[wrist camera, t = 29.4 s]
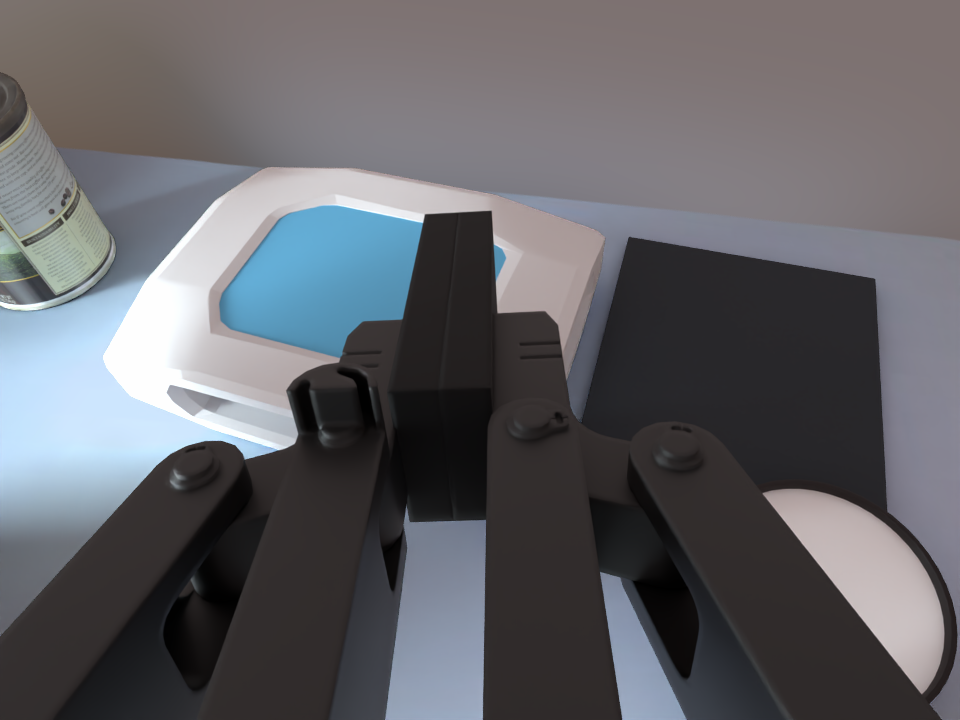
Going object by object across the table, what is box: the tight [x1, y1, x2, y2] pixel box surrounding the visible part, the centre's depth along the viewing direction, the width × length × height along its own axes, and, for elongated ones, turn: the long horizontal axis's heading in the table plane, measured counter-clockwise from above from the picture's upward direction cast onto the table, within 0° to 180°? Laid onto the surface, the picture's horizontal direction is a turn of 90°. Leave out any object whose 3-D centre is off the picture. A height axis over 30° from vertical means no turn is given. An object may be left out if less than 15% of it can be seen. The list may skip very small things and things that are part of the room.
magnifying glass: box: [757, 479, 957, 704], centre depth 32 cm, size 12×24×2 cm, turn 159°
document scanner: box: [103, 167, 605, 450], centre depth 47 cm, size 21×28×6 cm
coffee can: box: [0, 72, 116, 311], centre depth 50 cm, size 10×10×14 cm
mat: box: [581, 237, 887, 512], centre depth 45 cm, size 18×24×1 cm
